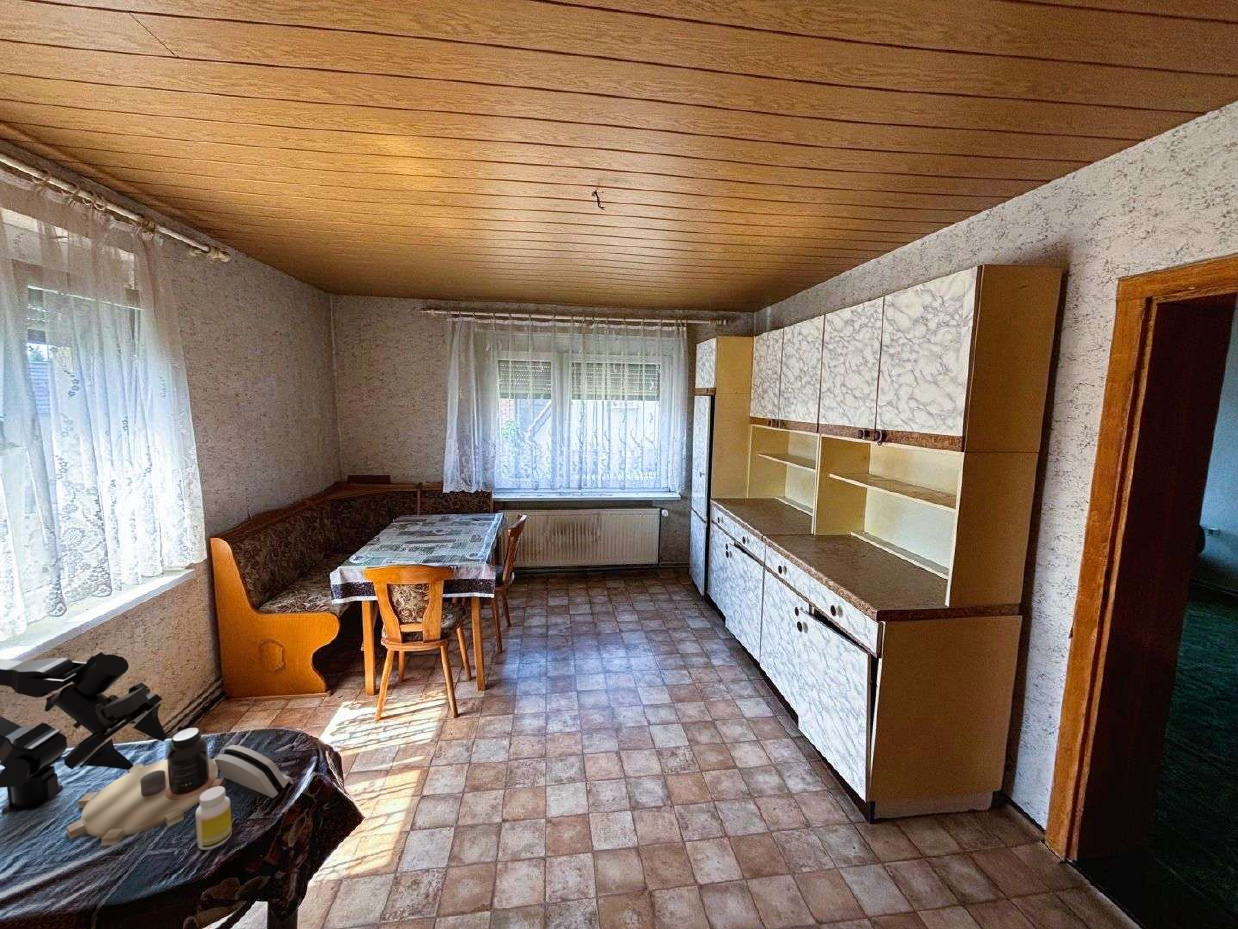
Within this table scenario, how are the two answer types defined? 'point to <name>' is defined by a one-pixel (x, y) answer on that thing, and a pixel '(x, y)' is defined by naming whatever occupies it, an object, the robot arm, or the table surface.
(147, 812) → the sprocket wheel
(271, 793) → the white arched block
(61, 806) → the table surface
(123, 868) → the table surface
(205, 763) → the supplement bottle
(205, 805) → the supplement bottle
